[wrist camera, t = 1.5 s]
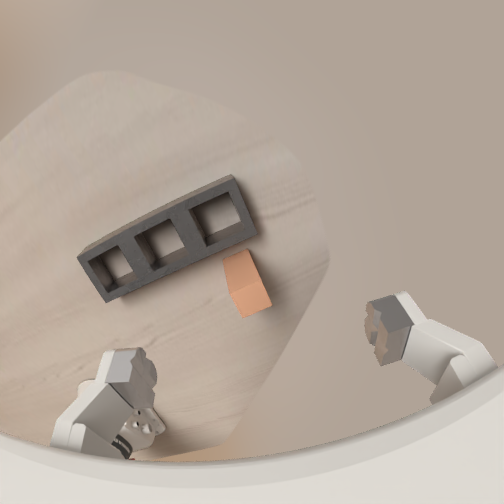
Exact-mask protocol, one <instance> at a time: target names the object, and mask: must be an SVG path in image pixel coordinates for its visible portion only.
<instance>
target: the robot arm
mask: <svg viewBox="0 0 504 504" xmlns="http://www.w3.org/2000/svg"><path fill="white" fill-rule="evenodd" d="M366 312H367V313H368V316H367V317H366V319H365V332H366V336H367V339H368V341H369V343H370V344H372V345H374V346H375V351H374V353H375V355H376V357H377V359H378V362H379V364H380V366H383V365H386V364H390V363H393V362H395V361H398V360H402V361H403V362H404V363H406V364H407V365H408V366H410V367H411V368H413V369H414V370H416V371H417V372H419V373H420V374H421V375H423V376H424V377H426V378H427V379H429V380H430V381H431V382H433V383H434V384H436V385H437V386H436V388H435V390H434V391H433V393H432V395H431V397H430V401H431V403H432V405H431V406H429V407H427V408H425V409H422V410H420V411H418V412H416V413H413V414H411V415H409V416H406V417H404V418H401V419H399V420H396V421H394V422H391V423H389V424H386V425H383V426H380V427H378V428H375V429H372V430H369V431H366V432H363V433H360V434H357V435H354V436H350V437H347V438H344V439H340V440H337V441H333V442H329V443H325V444H321V445H317V446H313V447H309V448H304V449H299V450H294V451H289V452H283V453H277V454H271V455H265V456H258V457H250V458H242V459H231V460H218V461H199V462H160V461H141V460H135V459H134V458H133V459H129V457H130V455H131V453H133V452H136V451H139V450H143V449H146V448H148V447H150V446H151V445H152V444H153V442H154V438H155V436H157V435H159V434H161V433H163V432H164V431H165V428H166V426H165V425H164V423H163V422H162V421H161V419H160V418H159V417H158V415H157V414H156V413H155V411H154V410H153V409H152V408H153V403H154V396H155V393H154V391H153V390H152V388H153V387H154V386H155V385H156V382H157V373H156V368H155V366H154V364H153V363H152V361H151V360H149V359H147V358H145V357H146V352H145V351H144V350H143V348H139V347H138V348H125V349H114V350H106V351H105V352H104V354H103V357H102V360H101V363H100V366H99V369H98V372H97V376H96V379H95V380H87V381H84V382H82V383H81V384H80V385H79V386H78V389H77V399H76V400H75V401H74V402H73V403H72V404H71V405H70V406H69V407H68V408H67V409H66V410H65V411H64V412H63V414H62V415H61V416H60V417H59V418H58V419H57V421H56V424H55V428H54V431H53V435H52V439H51V443H50V446H46V445H43V444H39V443H35V442H32V441H29V440H25V439H22V438H19V437H16V436H13V435H10V434H7V433H4V432H2V431H0V504H504V364H503V365H501V366H500V367H497V365H496V363H495V362H494V361H493V359H492V357H491V356H490V354H489V353H488V352H487V350H486V349H485V347H484V346H483V344H482V343H481V342H479V341H477V340H475V339H473V338H471V337H469V336H466V335H464V334H462V333H460V332H458V331H456V330H454V329H451V328H449V327H447V326H445V325H443V324H441V323H439V322H436V321H434V320H432V319H429V320H427V318H426V317H425V316H424V314H423V313H422V312H421V310H420V309H419V308H418V306H417V305H416V303H415V302H414V301H413V299H412V298H411V297H410V295H409V294H408V293H407V292H406V291H403V292H399V293H396V294H393V295H390V296H387V297H383V298H380V299H377V300H374V301H370V302H368V303H367V305H366Z"/></svg>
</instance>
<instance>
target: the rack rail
mask: <svg viewBox="0 0 504 504" xmlns="http://www.w3.org/2000/svg"><path fill="white" fill-rule="evenodd" d="M226 192H228V193H229V195H230V197H231V199H232V202H233V204H234V206H235V209H236V211H237V213H238V215H239V218H240V220H241V221H240V222H238V223H236V224H234V225H231V226H229V227H227V228H225V229H223V230H220V231H218V232H216V233H214V234H211V235H209V236H207V237H205V235H204V233H203V231H202V229H201V227H200V225H199V222H198V220H197V218H196V216H195V214H194V212H193V210H192V208H193V207H195V206H197V205H199V204H201V203H203V202H206V201H208V200H210V199H212V198H214V197H217V196H219V195H221V194H223V193H226ZM167 219H171V221H172V223H173V225H174V227H175V229H176V231H177V233H178V235H179V236H180V238H181V240H182V242H183V244H184V246H185V247H183V248H181V249H179V250H177V251H175V252H172V253H170V254H168V255H166V256H164V257H162V258H160V259H158V260H157V259H156V257H155V255H154V254H153V252H152V250H151V248H150V246H149V245H148V243H147V241H146V239H145V237H144V236H143V234H142V232H143V231H145V230H147V229H149V228H151V227H153V226H155V225H157V224H159V223H161V222H163V221H165V220H167ZM255 235H257V231H256V229H255V226H254V224H253V222H252V219H251V217H250V215H249V212H248V210H247V207H246V205H245V203H244V200H243V198H242V196H241V193H240V191H239V189H238V186H237V184H236V182H235V179H234V177H233V176H232V175H231V174H230V175H228V176H226V177H223V178H221V179H219V180H217V181H214V182H212V183H210V184H208V185H205V186H203V187H201V188H199V189H197V190H195V191H192V192H190V193H188V194H186V195H184V196H182V197H180V198H178V199H176V200H174V201H171V202H169V203H167V204H165V205H163V206H161V207H159V208H157V209H155V210H153V211H151V212H149V213H147V214H146V215H144V216H142V217H140V218H138V219H136V220H134V221H132V222H130V223H128V224H126V225H125V226H123V227H121V228H119V229H117V230H115V231H113V232H112V233H110V234H108V235H106V236H104V237H103V238H101V239H99V240H97V241H96V242H94V243H92V244H90V245H89V246H87V247H86V248H85V249H84V250H83V251H82V252H81V253H80V254H79V255H78V256H77V259H78V261H79V262H80V264H81V266H82V267H83V269H84V270H85V272H86V274H87V275H88V277H89V278H90V280H91V282H92V283H93V285H94V286H95V288H96V289H97V291H98V292H99V294H100V295H101V297H102V298H103V300H104V301H105V302H106V303H107V302H110V301H112V300H114V299H116V298H118V297H120V296H122V295H125V294H127V293H129V292H131V291H133V290H135V289H137V288H140V287H142V286H144V285H146V284H148V283H150V282H153V281H155V280H157V279H159V278H161V277H164V276H166V275H168V274H170V273H172V272H175V271H177V270H179V269H181V268H183V267H185V266H188V265H190V264H192V263H194V262H197V261H199V260H201V259H203V258H205V257H208V256H210V255H212V254H214V253H217V252H219V251H221V250H223V249H225V248H228V247H230V246H232V245H234V244H237V243H239V242H241V241H243V240H246V239H248V238H250V237H252V236H255ZM116 245H118V246H119V247H120V249H121V251H122V253H123V254H124V256H125V258H126V259H127V261H128V263H129V264H130V266H131V268H132V269H133V272H131V273H129V274H127V275H124V276H122V277H120V278H118V279H116V280H114V279H113V278H112V276H111V275H110V273H109V271H108V270H107V268H106V266H105V265H104V263H103V261H102V260H101V258H100V256H99V255H100V254H102V253H103V252H105V251H107V250H109V249H111V248H113V247H115V246H116Z"/></svg>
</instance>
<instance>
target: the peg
mask: <svg viewBox="0 0 504 504" xmlns="http://www.w3.org/2000/svg"><path fill="white" fill-rule="evenodd" d="M223 264H224V269H225V274H226V279H227V284H228V288H229V293H230V295H231V297H232V299H233V301H234V303H235V305H236V307H237V308H238V310H239V312H240V314H241V316H242V318H245V317H247V316H249V315H252V314H254V313H256V312H259V311H261V310H263V309H265V308H268V307H270V306H272V303H271V301H270V298H269V296H268V294H267V292H266V289H265V287H264V285H263V283H262V280H261V278H260V276H259V274H258V271H257V269H256V267H255V265H254V262H253V260H252V258H251V256H250V253H249V251H248V249H245V250H243V251H241V252H239V253H236V254H234V255H232V256H230V257H227V258H225V259H223Z"/></svg>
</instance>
